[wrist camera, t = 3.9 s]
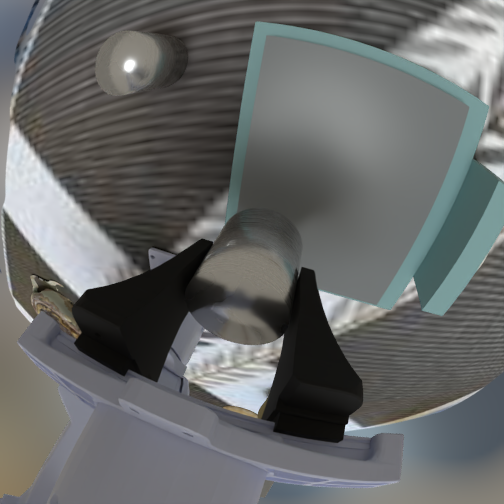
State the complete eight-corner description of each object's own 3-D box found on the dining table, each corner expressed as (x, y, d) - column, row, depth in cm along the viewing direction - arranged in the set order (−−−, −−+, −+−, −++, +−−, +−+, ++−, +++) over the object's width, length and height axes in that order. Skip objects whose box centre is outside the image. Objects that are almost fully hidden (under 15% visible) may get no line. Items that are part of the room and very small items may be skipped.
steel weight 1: (184, 89, 17) (144, 96, 13) (136, 87, 17) (93, 96, 13) (191, 34, 14) (152, 26, 10) (142, 37, 15) (98, 36, 11)
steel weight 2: (293, 283, 16) (278, 353, 12) (221, 266, 17) (188, 328, 13) (310, 218, 13) (300, 288, 9) (224, 200, 14) (181, 258, 10)
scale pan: (375, 297, 20) (376, 305, 19) (232, 256, 21) (229, 262, 21) (463, 105, 10) (469, 106, 10) (269, 37, 11) (266, 35, 11)
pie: (88, 291, 38) (71, 312, 34) (140, 373, 55) (130, 390, 51) (18, 263, 44) (5, 276, 41) (66, 337, 61) (57, 350, 57)
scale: (407, 296, 22) (416, 348, 18) (230, 244, 24) (203, 290, 19) (495, 117, 11) (542, 138, 6) (265, 28, 13) (236, 7, 8)
